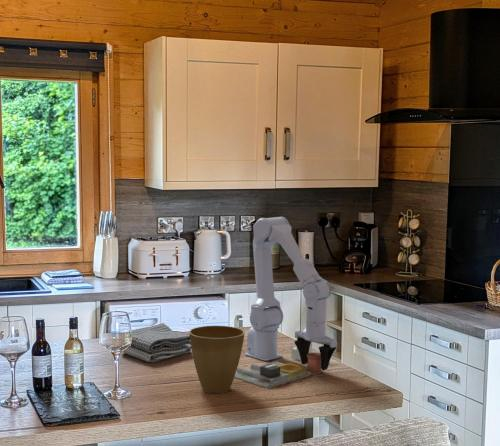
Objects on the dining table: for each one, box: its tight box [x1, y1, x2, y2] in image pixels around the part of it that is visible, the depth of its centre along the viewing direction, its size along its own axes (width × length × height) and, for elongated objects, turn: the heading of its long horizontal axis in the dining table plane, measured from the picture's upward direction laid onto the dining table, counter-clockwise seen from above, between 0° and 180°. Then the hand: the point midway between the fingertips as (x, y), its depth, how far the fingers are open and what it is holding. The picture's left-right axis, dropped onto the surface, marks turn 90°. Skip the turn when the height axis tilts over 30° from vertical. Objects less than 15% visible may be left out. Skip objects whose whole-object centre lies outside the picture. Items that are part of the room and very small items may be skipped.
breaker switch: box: [260, 363, 280, 378], centre depth 212 cm, size 4×4×3 cm
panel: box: [234, 360, 312, 389], centre depth 217 cm, size 14×18×2 cm
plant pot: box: [188, 325, 246, 394], centre depth 204 cm, size 15×15×16 cm
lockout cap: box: [307, 352, 322, 374], centre depth 223 cm, size 5×5×5 cm
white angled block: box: [291, 327, 313, 361], centre depth 237 cm, size 4×10×9 cm, turn 141°
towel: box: [122, 322, 192, 363], centre depth 237 cm, size 15×18×8 cm
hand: (314, 366), depth 223 cm, fingers open, 7 cm apart
